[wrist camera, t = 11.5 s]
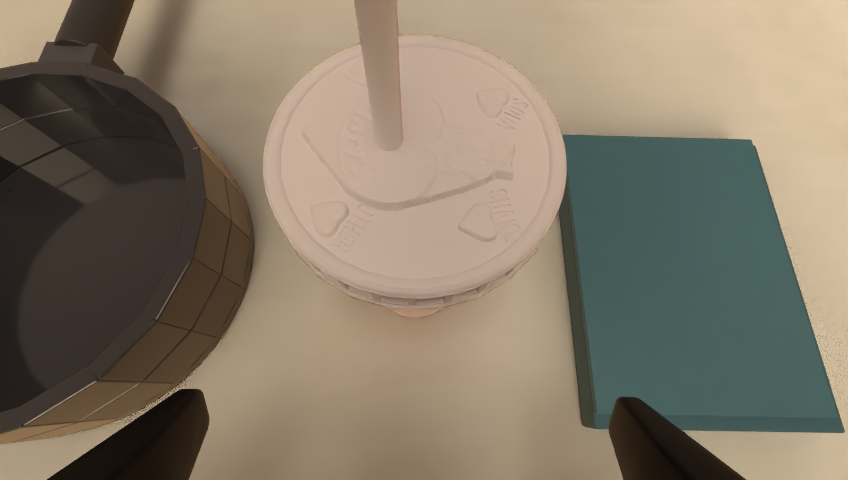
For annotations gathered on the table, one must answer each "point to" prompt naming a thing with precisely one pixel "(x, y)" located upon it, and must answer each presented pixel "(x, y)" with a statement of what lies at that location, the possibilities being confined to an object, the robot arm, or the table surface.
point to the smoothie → (413, 168)
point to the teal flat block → (686, 288)
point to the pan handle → (90, 33)
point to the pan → (107, 248)
